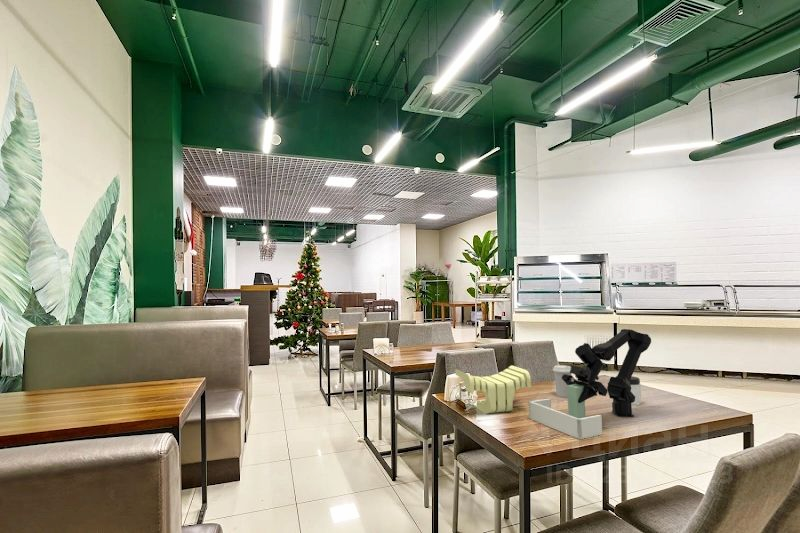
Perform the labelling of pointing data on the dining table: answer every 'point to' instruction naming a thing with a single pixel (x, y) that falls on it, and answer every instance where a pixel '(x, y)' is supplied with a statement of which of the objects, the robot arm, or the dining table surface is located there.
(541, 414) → the cream u-shaped wall
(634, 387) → the jar
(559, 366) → the coffee cup
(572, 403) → the block
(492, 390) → the slatted curved stool
